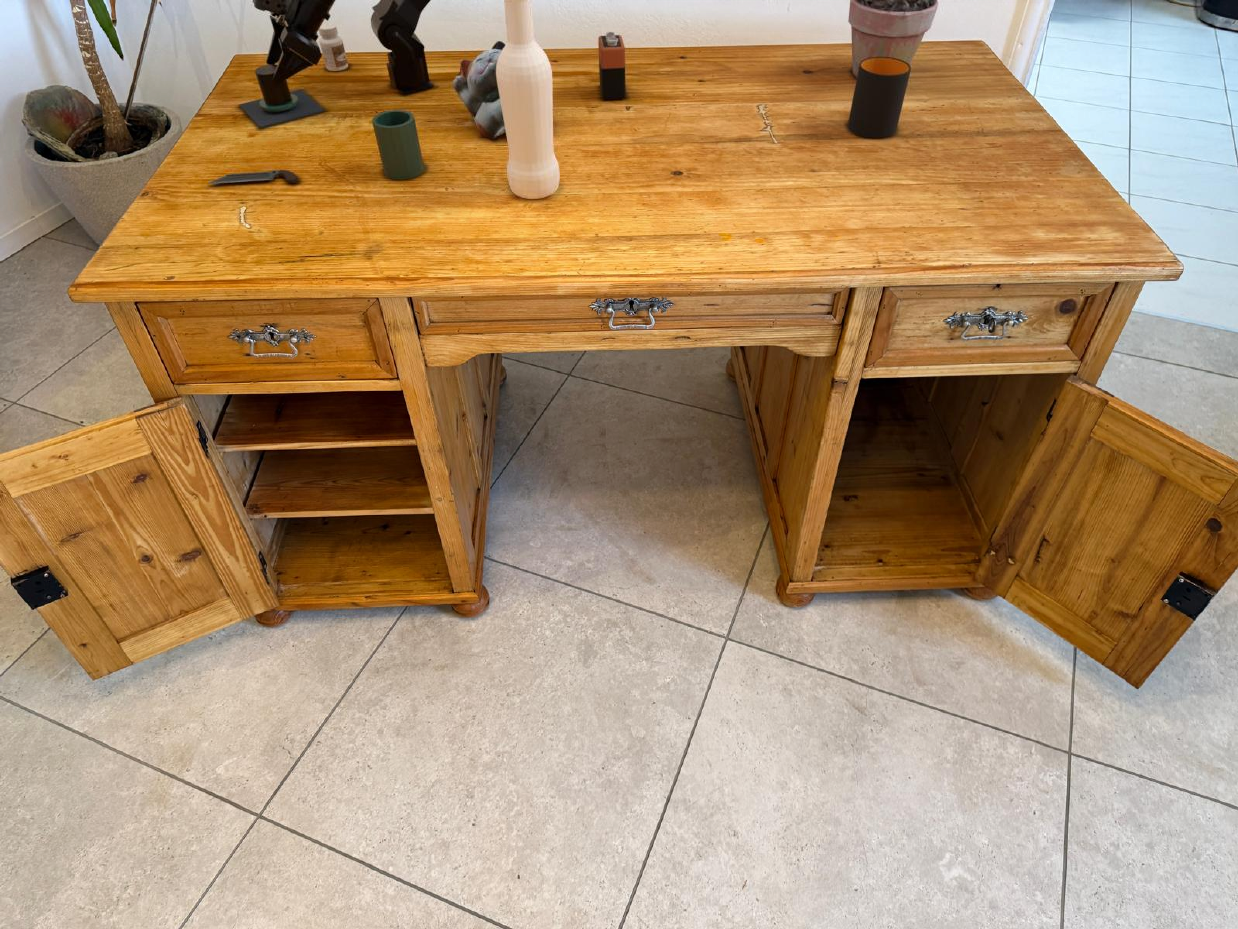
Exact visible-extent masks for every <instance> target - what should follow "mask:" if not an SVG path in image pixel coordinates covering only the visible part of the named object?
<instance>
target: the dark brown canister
mask: <svg viewBox="0 0 1238 929" xmlns="http://www.w3.org/2000/svg"><path fill="white" fill-rule="evenodd" d="M277 65H278V64H271V65H269V64H265V65H261V66H259V67H257V68H256V69H255V70H254V73H255V76H256V79H257V82H258V85H259V89H260V92H261V95H262V98H261V99H262V100H261V101H260V103H259V104H260V107H261V109H263V110H265V111H271V112H280V111H285V110H288V109H290V108H293V107H295V106H296V105H297V104H298V102H299V101H298V98H297V96H296V95H293V94H291V93H290V92H291V90H290V88H289V83H288V79H286V80H285V81H283V82H281V83H280V84H277V83H275V82H273V76H274V73H275V70H276V68H277Z"/></svg>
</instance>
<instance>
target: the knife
mask: <svg viewBox="0 0 1238 929" xmlns="http://www.w3.org/2000/svg"><path fill="white" fill-rule="evenodd" d="M275 177H282V178H285V180H286V182H288V183H289V184H296V183H298V181H299V177H298V176H297V174H295V173H294V172H292V171H290V170H287V169H279V170H267V171H255V172H243V173H240V172H239V173H229V174H228V173H227V174H226V175H223V176H220V177H218V178H216V179H214V180H211V181H210V182H208V185H212V184H227V183H242V182H257V181H258V182H259V181H273V180H274V178H275Z"/></svg>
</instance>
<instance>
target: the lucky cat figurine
mask: <svg viewBox="0 0 1238 929" xmlns="http://www.w3.org/2000/svg"><path fill="white" fill-rule="evenodd" d="M505 45H506V43H504V42H503V41H501V40H498V41H496V42H495V43H494V44H493V46H492V47H491V48H490V49H486V50H484V51H482V52H481V53H480V54H478V55H477V56H476V57H475V58H474V59H467V58H466V59H462V60H460V63H459V64H460V67H459V72H458V74H457V75H455V78H454V79H453V80H452V82H451V83H452V87H453V89H454V91H455V92H456V93H457V95H458V97H459V99H460V101H461V102H462V103H463V104H464V106H465V108H466V109H467V111H468V112H469V113H470V115H471V117H472V118H473V120H474V122H475V124H476V128H477V131H478V133H479V134H480V135H481V136H482V137H485V138H488V139H491V140H495V139H497V137H499V136H501V135H503V134H506V130H505V124H504V119H503V113H502V107H501V102H500V96H499V90H498V84H497V78H496V65H497V61H498V58H499V55H500V53H501V51H502V50H503V48H504V47H505Z"/></svg>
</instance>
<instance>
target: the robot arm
mask: <svg viewBox="0 0 1238 929" xmlns="http://www.w3.org/2000/svg"><path fill="white" fill-rule="evenodd" d="M336 1H337V0H252V3H253V7H254V8H255V9H256V10H259V11H262V12H265V11H266V12H269V14H270V15H269V20H270V23H271V25H272V26H271V27H272V30H273V33H272V37H271V41H270V44H269V48H268V53H267V58H266V61H265V62H266V65H271V64H275V65H277V68H276V70H275V73H274V76H273V82H275V83H277V84H280V83H281V82H283V81H285V80H288V79H290V78H291V77H294V76H296V74H298V73H300V72H302V71H305V70H306V69H308V68H309V67H313V66H317V65H318V63H319V62H320V60H321V58H322V57H323V54H322V50H321V47H320V45H319V44H318V42H317V40H318V39H319V36H320V35H319V34H318V33H319V28H320V27H321V25H322V24H324V21H327V22H328V21H329V19H330V18H331V14H330V11H331V10H332V7H333V6H334V5H335V2H336ZM431 1H432V0H379V2H378V3H377V4H376V5H374V6H372V7H371V9H372V11H373V13H372V14H371V16H370V24H371V25H370V27H371V30H372V32H373V33H374V36H375V37H376V38H377V40H378V42H379V43H380V44H381V45H382V47H384V48H385V49H387V50H389V51H390V52H387V53H386V56H387V60H388V62H386V68H387V72H388V78H389V84H390V86H391V87H393V89H395V90H397V91H398V92H399V93H400V94H401V95H408V94H413V93H417V92H420V91H424V90H427V89H432V88H434V87H435V84H434V83H433V82H432V81H431V80H430V75H429V70H428V63H427V59H426V58H427V57H426V53H425V45H424V43H423V42H422V41H421V40H420V38H419V37H418V35H417V34H416V33H415V31H416V30H417V27H418V23H419V20H420V18H421V15H422V12H423V11H424V10H425V8H426V7H427V6H428V5H429V3H430V2H431Z"/></svg>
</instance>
